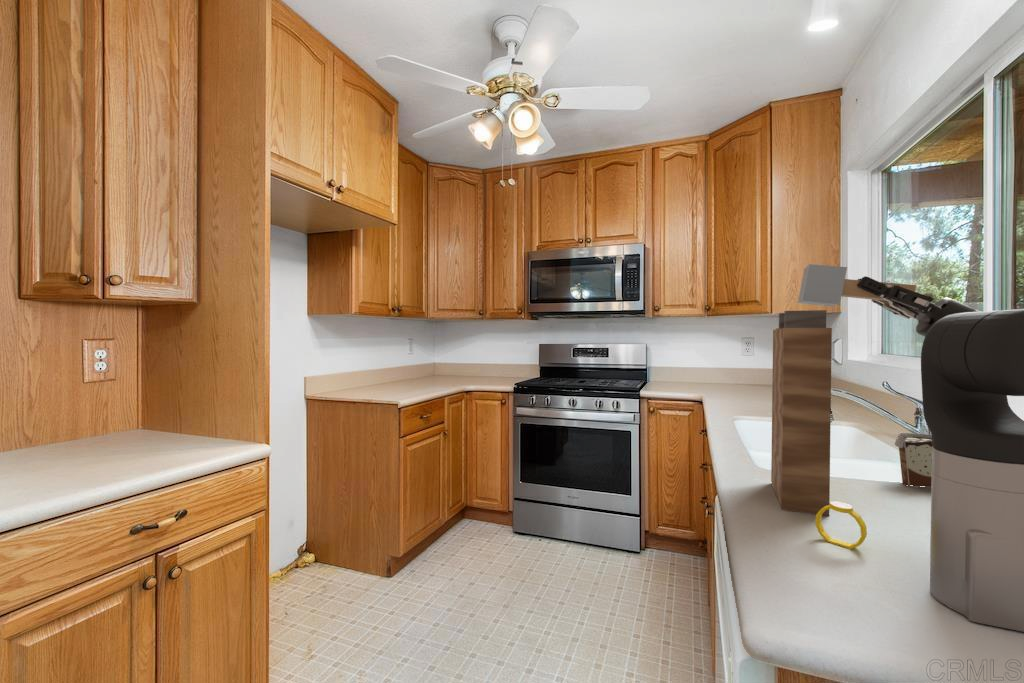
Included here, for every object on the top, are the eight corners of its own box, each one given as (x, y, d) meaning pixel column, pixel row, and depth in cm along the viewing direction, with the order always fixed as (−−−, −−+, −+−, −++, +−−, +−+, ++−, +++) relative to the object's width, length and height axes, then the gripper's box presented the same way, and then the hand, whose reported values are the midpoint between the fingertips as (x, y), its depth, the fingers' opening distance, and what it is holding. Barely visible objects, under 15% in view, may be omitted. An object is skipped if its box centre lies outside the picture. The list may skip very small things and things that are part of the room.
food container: (940, 479, 98) (941, 433, 98) (966, 489, 91) (967, 440, 91) (879, 477, 99) (880, 432, 99) (900, 486, 93) (901, 438, 93)
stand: (829, 516, 77) (832, 310, 77) (781, 509, 80) (784, 310, 79) (810, 488, 91) (813, 314, 91) (771, 483, 94) (773, 315, 94)
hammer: (913, 312, 80) (922, 273, 80) (802, 300, 87) (809, 264, 87) (901, 314, 86) (908, 277, 85) (797, 302, 93) (804, 268, 92)
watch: (866, 550, 65) (870, 510, 64) (860, 556, 63) (865, 515, 63) (818, 533, 70) (822, 495, 69) (811, 538, 68) (815, 499, 67)
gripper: (964, 346, 74) (855, 296, 81) (928, 345, 87) (836, 301, 93) (996, 306, 73) (882, 258, 79) (955, 311, 86) (859, 269, 92)
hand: (857, 282), depth 86 cm, fingers closed on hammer, 3 cm apart
